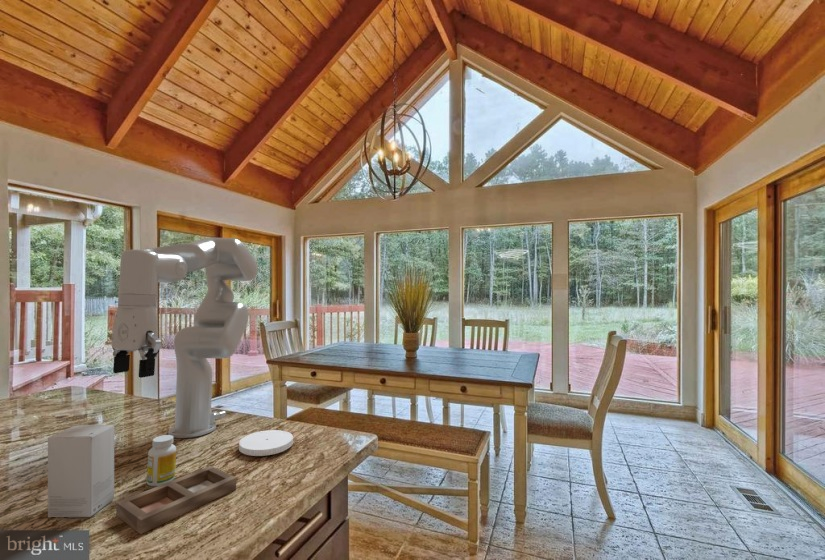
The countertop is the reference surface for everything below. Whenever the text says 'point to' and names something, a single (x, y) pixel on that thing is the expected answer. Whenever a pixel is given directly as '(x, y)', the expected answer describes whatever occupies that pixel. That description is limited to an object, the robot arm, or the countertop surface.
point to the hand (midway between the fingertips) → (133, 374)
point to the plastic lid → (265, 442)
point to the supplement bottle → (161, 461)
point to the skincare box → (80, 470)
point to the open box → (174, 498)
